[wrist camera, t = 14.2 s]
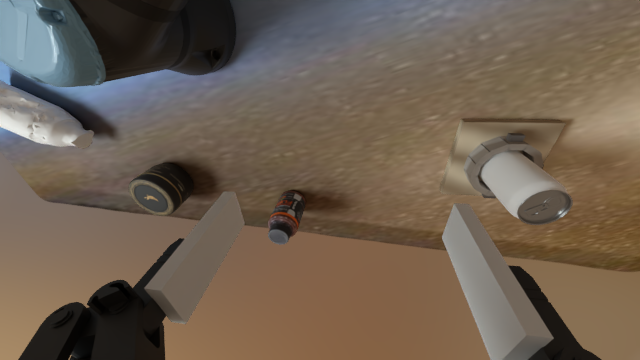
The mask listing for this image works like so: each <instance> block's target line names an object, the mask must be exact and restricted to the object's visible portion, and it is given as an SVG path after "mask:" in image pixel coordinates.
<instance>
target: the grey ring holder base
mask: <svg viewBox="0 0 640 360" xmlns="http://www.w3.org/2000/svg"><path fill="white" fill-rule="evenodd" d="M565 124H566V123H564V122H562V121H560V120H504V119H461V121H460V124H459V127H458V130H457V134H456V137H455V140H454V143H453V147H452V150H451V153H450V156H449V160H448V163H447V166H446V169H445V173H444V176H443V179H442V182H441V186H440V191H441V193H442V194H455V195H473V196H483V197H484V198H496V196H495V195H494V193H493V192H492V191H491V190H490V188H489V187H488V186H487V185H486V184H485V182H484V181H483V180H482V179H481V177H480V176H479V175H478V174H479V171H480V169H481V166H482V165H483V164H484V163H485V162H486V161H488V160H489V159H490V158H491V157H492V156H494V155H496V154H499V153H502V152H505V151H507V150H517V151H518V152H520V153H521V154H523V155H524V156H525V157H527V158H528V159H529V160H531V161H532V162H533V163H535V164H536V165H537V166H539V167H540V168H541V169H542V168H543V166H544V165H543V163H544V161H545V160H546V158H547V156H548V154H549V153H550V151H551V149H552V147H553V146H554V144H555V142H556V140H557V139H558V137H559V135H560V133H561V131H562V130H563V128H564V126H565Z"/></svg>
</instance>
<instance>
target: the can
mask: <svg viewBox="0 0 640 360" xmlns="http://www.w3.org/2000/svg"><path fill="white" fill-rule="evenodd" d="M478 175H479V176H480V177H481V179H482V180H483V181H484V182H485V184H486V185H487V186H488V187H489V188H490V190H491V191H492V192H493V193H494V195H495V196H496V197H497V198H498V199H499V201H500V202H501V203H502V204H503V205H504V207H505V208H506V209H507V210H508V211H509V212H510V213H511V214H512V215H513V216H515V217H517V218H519V219H520V220H521V221H522V222H524V223H527V224H531V225H542V224H547V223H551V222H554V221H556V220H558V219H560V218H561V217H563V216H564V215H566V214H567V213H568V212H569V210H570V209H571V207H572V203H573V201H572V198H571V196H570V195H569V194H568V193H567V190H566V188H565V187H564V186H563V185H562V184H561V183H560V182H558V181H557V180H556V179H554V178H553V177H552V176H551V175H549V174H548V173H547V172H545V171H544V170H543V169H541V168H540V167H539V166H537V165H536V164H535V163H533V162H532V161H531V160H529V159H528V158H527V157H525V156H524V155H523V154H521V153H520V152H518V151H517V150H507V151H505V152H502V153H499V154H496V155H494V156H492V157H491V158H490V159H489V160H488V161H486V162H485V163H484V164H483V165H482V166H481V169H480V171H479V174H478Z"/></svg>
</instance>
